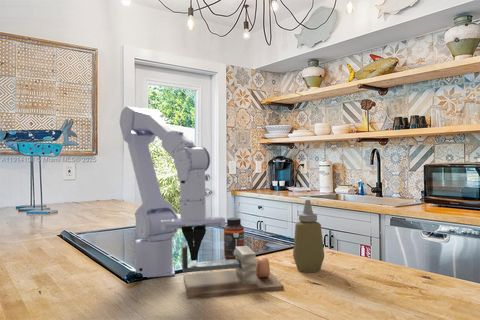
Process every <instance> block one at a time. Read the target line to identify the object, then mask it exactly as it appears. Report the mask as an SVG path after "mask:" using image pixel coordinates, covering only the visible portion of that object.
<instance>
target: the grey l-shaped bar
mask: <svg viewBox="0 0 480 320" xmlns="http://www.w3.org/2000/svg"><path fill="white" fill-rule="evenodd" d="M180 246H181V268H182V273H195V272H206V271H207V272H208V271H209V272H210V271H218V270H219V271H220V270H221V271H222V270H230V269H231V270H232V269H236V268H241V262H240V261H239V259H232V258H229V259H222V260H221V259H220V260H207V261H206V260H204V261H196V262H195V261H192V262H189V261H188V259H189V258H188V255H189V254H188V244H187V242H182V243H181V245H180Z"/></svg>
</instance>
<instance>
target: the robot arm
mask: <svg viewBox="0 0 480 320" xmlns="http://www.w3.org/2000/svg"><path fill="white" fill-rule="evenodd" d="M119 118H120V119H119V127H120V131H121V135H122V138H123V142H125V143H126V144H127V146H128V147H127V148H128V150H129V156H130V159H131V163H132V168H133V171H134V173H135V174H134V175H135V179H136V183H137V187H138V192H139V195H140V199H141V202H142V203H141V205H139V206H138V208H137V209H136V211H135V212H134V216H135V218H134V219H135V230H136V234H137V235H138V237H139V238H140V239H135V243H134V245H135V246H134V251H135V252H134V256H135V257H134V258H135V259H134V260H135V261H134V270H135V273H136V272H139V273H142V274H143V277H147V278H157V277H158V278H160V277H170V276H175V273H176V272H175V266H174V264H173V261H174V260H173V238H174V237H175V234H176V233H177V232H178V230H179V229H180V230H181V232H182V235H183V237H184V239H185V241H186V245H187V248H188V250H189V255H190V260H191V261H192V262H195V261H198V259H199V258H198V257H199V251H200V247H201V244H202V242H203V240H204V237H205V235H206V232H207V229H206V228H209V227H210V228H213V227H221V228H222V227H223V228H224V227H225V226H226V217H225V216H207V215H206V214H207V213H206V212H207V210H206V171H208V169H209V168H210V165H211V156H210V152H209V151H208V149H207V148H206V147H204V146H198V145H195V144H194V142H193V141H191V140H190V139H189V138H188V137H187V136H185V135H184V132H183V131H182V130H180V129H179V130H177V129H173V130H172V128H171V127H170V126H169V124H168V123H167V122H166V121H165V120H164V119H163V118H164V117H163V113H162V112H160V110H159V109H156V108H153V109H150V108H140V107H139V108H138V107H131V106H125V107H124V108H123V109H122V110H121V112H120V117H119ZM156 137H157V138H158V139H160V141H161V148H163V150H164V151H165V152H166V153H167V154H168V155H169V156H170V157H171V158H172V159H173V164H174V168H175V170H176V172H177V173H176V174H177V179H178V181H179V198H180V201H179V202H180V203H179V205H180V207H179V208H180V210H179V211H180V218H179V216H178V215H177V213H176V212H175V210H174V206H173V204H172V203H170V202H169V201H168V200H165V199H164V198H163V196H162V191H161V189H160V185H159V182H158V177H157V174H156V170H155V166H154V164H153V163H154V162H153V158H152V156H151V155H152V154H151V152H150V148H149V144H150V145H151V143H153V142H154V141H155V140H156Z"/></svg>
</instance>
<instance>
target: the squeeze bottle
mask: <svg viewBox="0 0 480 320" xmlns="http://www.w3.org/2000/svg"><path fill="white" fill-rule="evenodd" d="M294 226H295V227H294V228H295V229H294V239H293V250H292V251H293V252H292V257H293V260H294V263H295V267H296V269H297V270H298V271H300V272H304V273H316V272H319V271H321V269H322V266H323V262H324V259H325V248H324V240H323V232H322V224H321V223H320V222H318V214H317V213H314V211H313V207H312V204H311V200H310V199H305V201H304V206H303V211H302V212H301V213H299V214H298V221H297V222H296V223H295V225H294Z"/></svg>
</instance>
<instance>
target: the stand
mask: <svg viewBox="0 0 480 320" xmlns="http://www.w3.org/2000/svg"><path fill="white" fill-rule="evenodd" d="M235 255H236V259H239V261H240V262H241V268H235V269H234V270H223V271H222V270H221V271H209V272H199V273H187V274H183V281H184V286H185V289H186V290H185V291H186V295H187V299H197V298H198V299H200V298H208V297H219V296H228V295H229V296H230V295H237V294H250V293H260V292H268V291H269V292H270V291H280V290H284V289H285V286H284V284H283V283H281V281H280V280H279V279H278V278H276V276H275V275H274V274H273V273H272V272H271V271H270V274H269V277H261V278H258V277H257V276H256V259H257V257H256V253H255V252H254V251H253V250H252V249H251V248H250V247H249V246H248V245H244V246H238V247H235Z"/></svg>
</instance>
